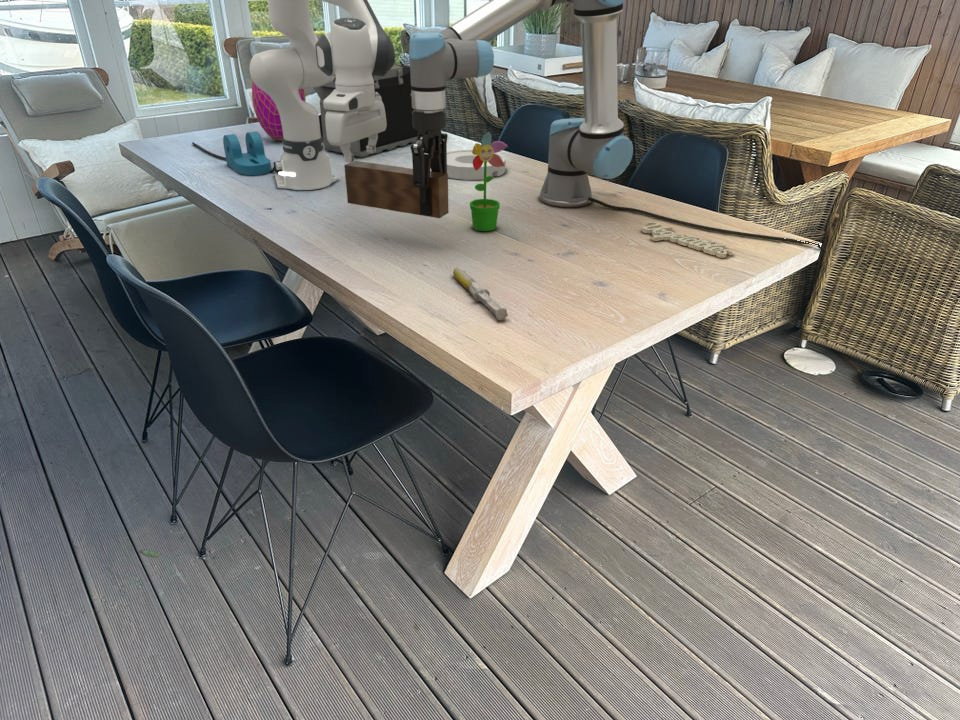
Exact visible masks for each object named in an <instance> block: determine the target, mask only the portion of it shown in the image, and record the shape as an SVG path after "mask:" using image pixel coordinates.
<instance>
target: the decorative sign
mask: <svg viewBox="0 0 960 720" xmlns="http://www.w3.org/2000/svg"><path fill="white" fill-rule="evenodd" d="M673 229H674V228H673V226H669V225H668V226H662V225H661V223H660V222H656V221H648V222H647V225H645V226H642V230H641V232H642V233H643V234H651V235H652V239H651V240H652V241H654V242H659V241H668V242H671V243H677V244H678V245H681V246H684V247H688V248H689V249H694V250H696V251H702V252H703V253H705V254H708V255H711V256H715V257H717V258H721V259H725V258H727V256H732V255H733V250H732V249H729V248H726V243H716V240H703V241H702V240H701V239H700V237H697V236H696V235H691V234H688V233H685V234H681V233H680V234H679V233H678V232H674V231H673Z"/></svg>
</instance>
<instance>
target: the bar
mask: <svg viewBox="0 0 960 720" xmlns="http://www.w3.org/2000/svg"><path fill="white" fill-rule="evenodd" d="M343 169H344V177H345V178H344V179H345V188H346V190H345V191H346V200H347V204H351V205H357V206H361V207H362V206H363V207H369V208H375V209H381V210H386V211H391V212H392V211H393V212H399V213H405V214H411V215H416V216H417V215H418V216H423V217H429V218H434V219H441V218H443V217H444V216H446V215H447V214H449V213H450V212H449V177H448V174H447V173H440V172H433V171H431V170H430V182H429V188H431V198H432V215H431V216H428V215H422V214H420V189H419V188H418V187H414V184H413V168H410V167H404V166H396V165H390V164H382V163H374V162H368V161H367V162H366V161H361V160H354V161H352V162H350V163H349V162H347V163H346V164H344V165H343Z"/></svg>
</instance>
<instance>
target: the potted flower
mask: <svg viewBox="0 0 960 720" xmlns="http://www.w3.org/2000/svg"><path fill="white" fill-rule="evenodd" d="M508 147H509V146H508V144H507V143H505V142H504V141H501V140H496V141H493V142H492V134H491V132H490V131H488V132H486V133H484V134H483V135H482V136H481V138H480V143H478V142H476V143H474V145H473V148H472V149H471V150H472V153H473V154H474V155H477V156H476V157H475V158H474V159H473V167H474V169H475V170H476V171H477V170H479V169H480V167H481V166H482V164H483V162H484V179H483V183H478V184H476V185H475V186H474V189H475V190H476V191H478V192H483V198H478V199H473V200H471V201H470V202H469V207H470V208H469V209H470V212H471V222H472V228H473V229H474V230H475V231H478V232H492V231H494V230H495V229H496V228H497V224H498V215H499V210H500V206H501V204H500V202H499V201H498V200H495V199H492V198H491V199H490V198H487V183H489V182H491V181H492V179H493V178H494V176H488V177H486V174H487V162H489V163H490V164H491V165H492V166H495V167H502V166H505V167H506V164H504V163H503V161H502V159H501V158H500V157H499V156H498V155H496V154H494V153H500V152H502V151H504V150H505V149H506V148H508Z"/></svg>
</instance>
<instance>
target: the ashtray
mask: <svg viewBox="0 0 960 720" xmlns="http://www.w3.org/2000/svg"><path fill="white" fill-rule="evenodd" d="M472 150H473V149H456V150H455V149H454V150H449V151H447V174H448V179H456V180H465V181H480V180H484V162H483V164H482V166H481V167H480V169H479V170H477V171H476V170H475V169H474V167H473V159H474V158H475V157H476V156H477V155H474V154H473V153H472ZM494 154H496V155H498V156H499V157H500V158H501V159H502V161H503V163H504V164H505V166H502V167H495V166H492V165H491V164H490V163H489V162H487V174H486V177H488V176H492V177H500V176H503V174H505V173H506V159H507V158H506V157H505V155H503V154H502V153H500V152H497V153H494Z"/></svg>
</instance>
